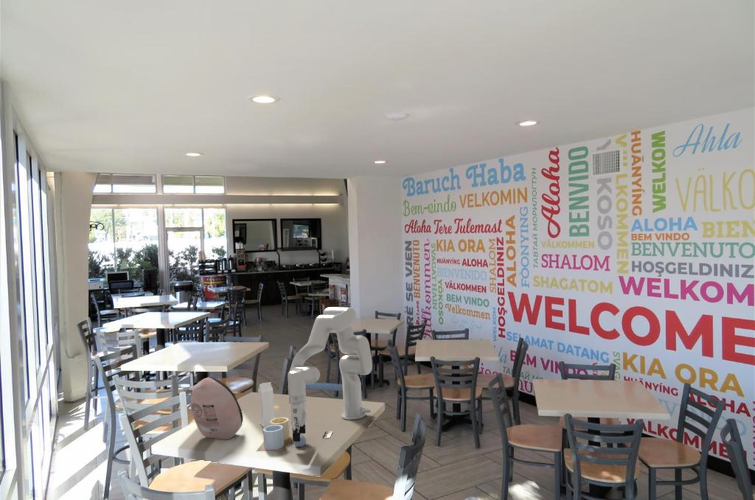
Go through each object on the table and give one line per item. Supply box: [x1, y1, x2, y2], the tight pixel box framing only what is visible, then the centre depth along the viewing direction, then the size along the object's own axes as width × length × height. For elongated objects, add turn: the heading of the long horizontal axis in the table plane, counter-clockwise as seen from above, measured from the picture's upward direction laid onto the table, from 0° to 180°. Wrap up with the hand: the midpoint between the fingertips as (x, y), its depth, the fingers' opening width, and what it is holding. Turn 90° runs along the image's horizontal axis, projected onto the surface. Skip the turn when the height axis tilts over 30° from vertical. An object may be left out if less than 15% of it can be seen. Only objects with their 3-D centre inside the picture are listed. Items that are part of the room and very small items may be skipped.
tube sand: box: [270, 416, 291, 440], centre depth 236 cm, size 8×8×8 cm
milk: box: [257, 381, 276, 428], centre depth 256 cm, size 6×6×22 cm
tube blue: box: [262, 425, 284, 450], centre depth 226 cm, size 8×8×8 cm
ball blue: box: [294, 434, 307, 448], centre depth 225 cm, size 5×5×5 cm
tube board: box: [256, 430, 333, 452], centre depth 233 cm, size 30×24×1 cm
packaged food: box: [189, 376, 244, 440], centre depth 244 cm, size 22×20×30 cm
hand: (299, 437), depth 225 cm, fingers open, 9 cm apart
